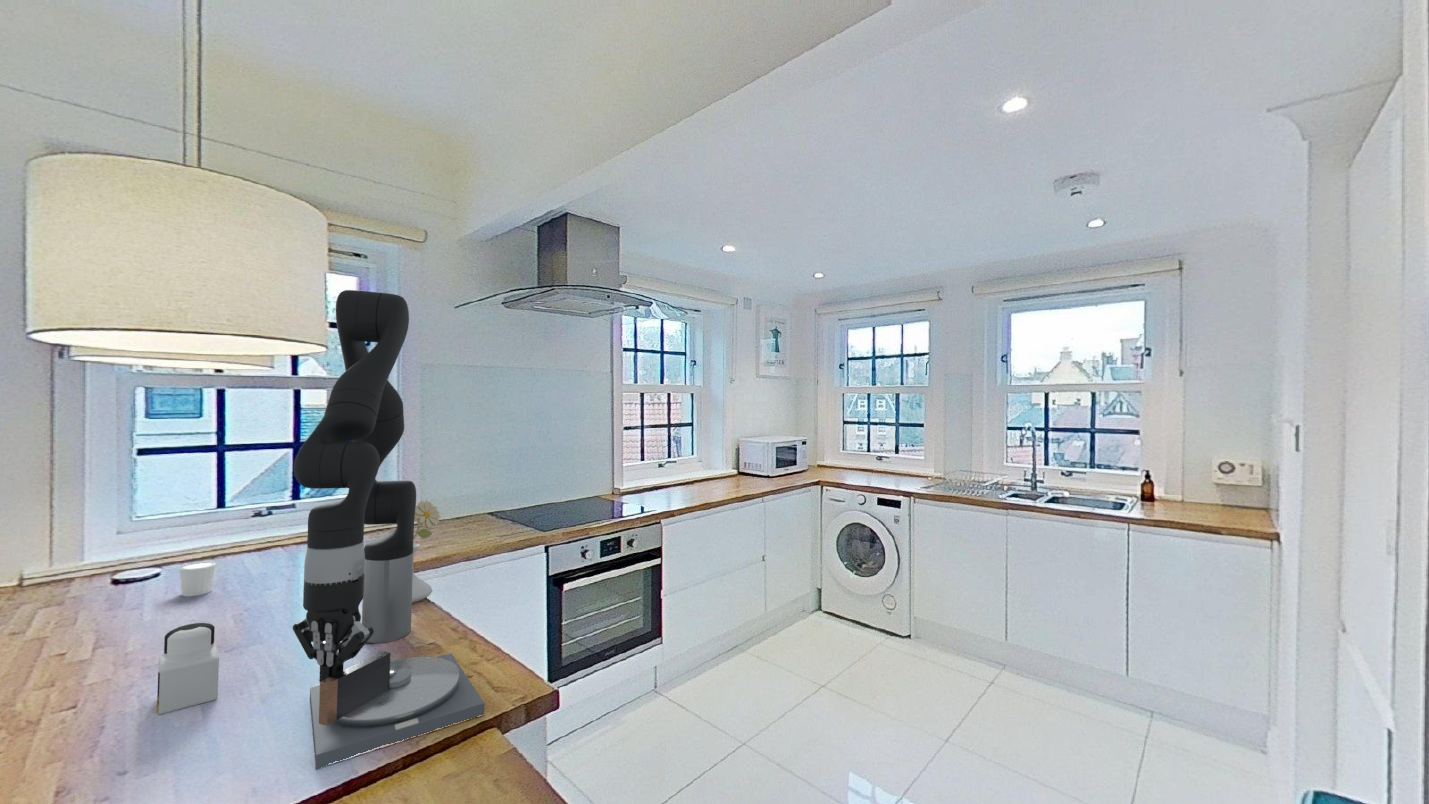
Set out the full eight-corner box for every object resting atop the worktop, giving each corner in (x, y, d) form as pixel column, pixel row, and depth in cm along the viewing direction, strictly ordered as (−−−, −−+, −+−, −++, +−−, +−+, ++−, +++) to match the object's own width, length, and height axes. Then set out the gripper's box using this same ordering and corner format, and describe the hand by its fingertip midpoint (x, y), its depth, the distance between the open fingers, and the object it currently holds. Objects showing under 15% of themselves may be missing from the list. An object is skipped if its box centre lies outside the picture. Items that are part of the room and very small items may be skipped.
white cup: (207, 595, 138) (208, 568, 138) (172, 598, 135) (173, 570, 136) (220, 587, 144) (221, 560, 144) (187, 589, 142) (187, 563, 142)
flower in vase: (392, 611, 130) (395, 507, 130) (373, 600, 137) (376, 502, 137) (447, 597, 140) (449, 501, 141) (426, 587, 147) (428, 496, 148)
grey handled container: (158, 698, 91) (160, 626, 91) (215, 683, 96) (218, 615, 96) (156, 716, 86) (159, 640, 86) (217, 699, 91) (220, 628, 91)
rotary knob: (398, 658, 101) (399, 618, 101) (483, 674, 96) (484, 632, 96) (274, 723, 80) (275, 672, 80) (374, 748, 75) (376, 694, 75)
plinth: (309, 699, 91) (310, 686, 91) (451, 663, 105) (451, 652, 105) (315, 769, 74) (316, 753, 74) (484, 715, 88) (484, 701, 88)
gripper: (275, 576, 80) (271, 693, 80) (349, 586, 77) (345, 707, 77) (322, 562, 87) (318, 669, 87) (391, 570, 84) (387, 681, 84)
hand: (331, 687), depth 82 cm, fingers closed
